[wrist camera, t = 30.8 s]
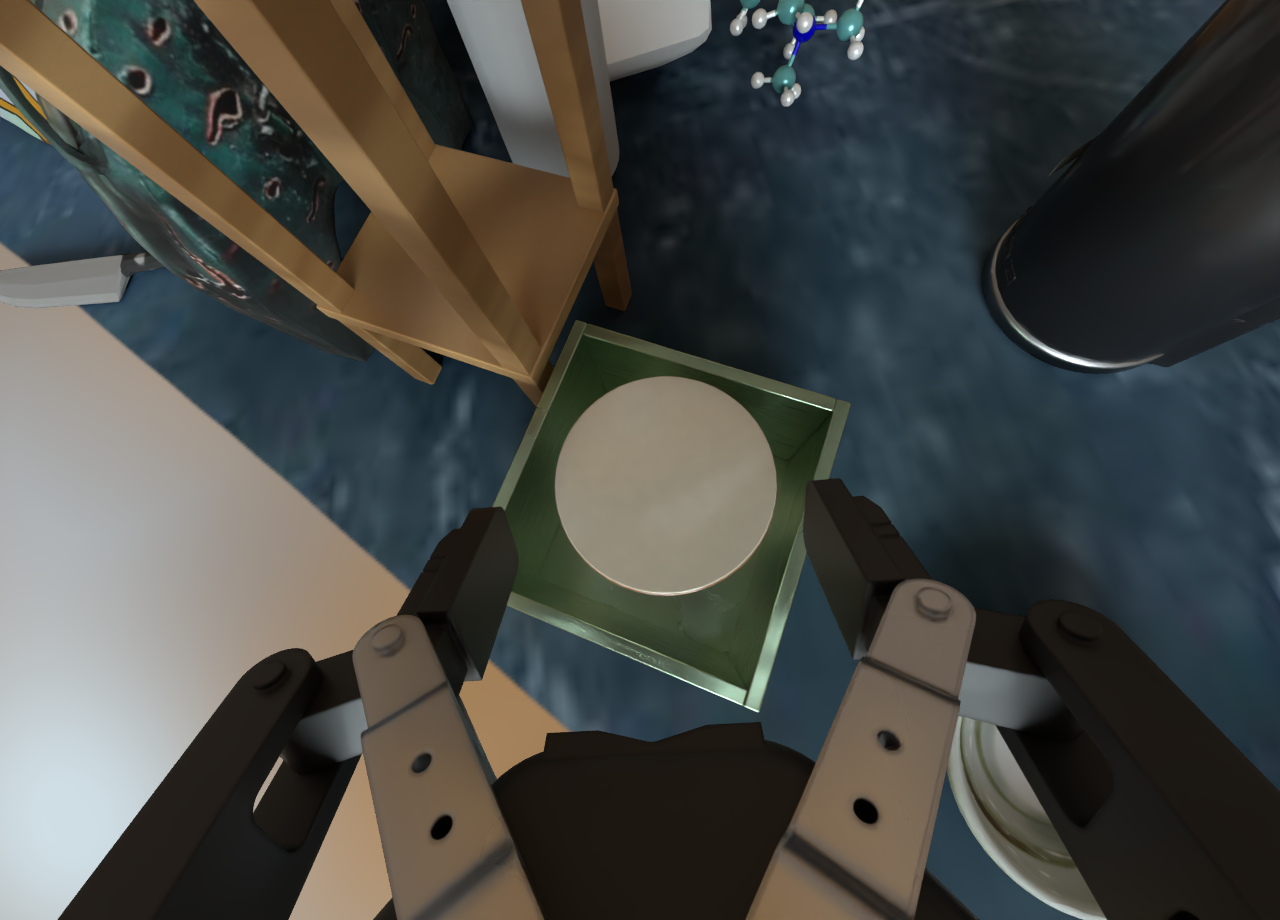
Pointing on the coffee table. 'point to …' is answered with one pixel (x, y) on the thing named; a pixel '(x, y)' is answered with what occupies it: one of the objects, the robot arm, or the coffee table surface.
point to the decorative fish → (8, 111)
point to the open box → (679, 624)
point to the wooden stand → (382, 182)
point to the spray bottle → (651, 32)
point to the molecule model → (800, 37)
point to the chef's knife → (73, 281)
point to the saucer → (1013, 820)
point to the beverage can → (528, 80)
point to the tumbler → (666, 486)
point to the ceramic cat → (233, 144)
